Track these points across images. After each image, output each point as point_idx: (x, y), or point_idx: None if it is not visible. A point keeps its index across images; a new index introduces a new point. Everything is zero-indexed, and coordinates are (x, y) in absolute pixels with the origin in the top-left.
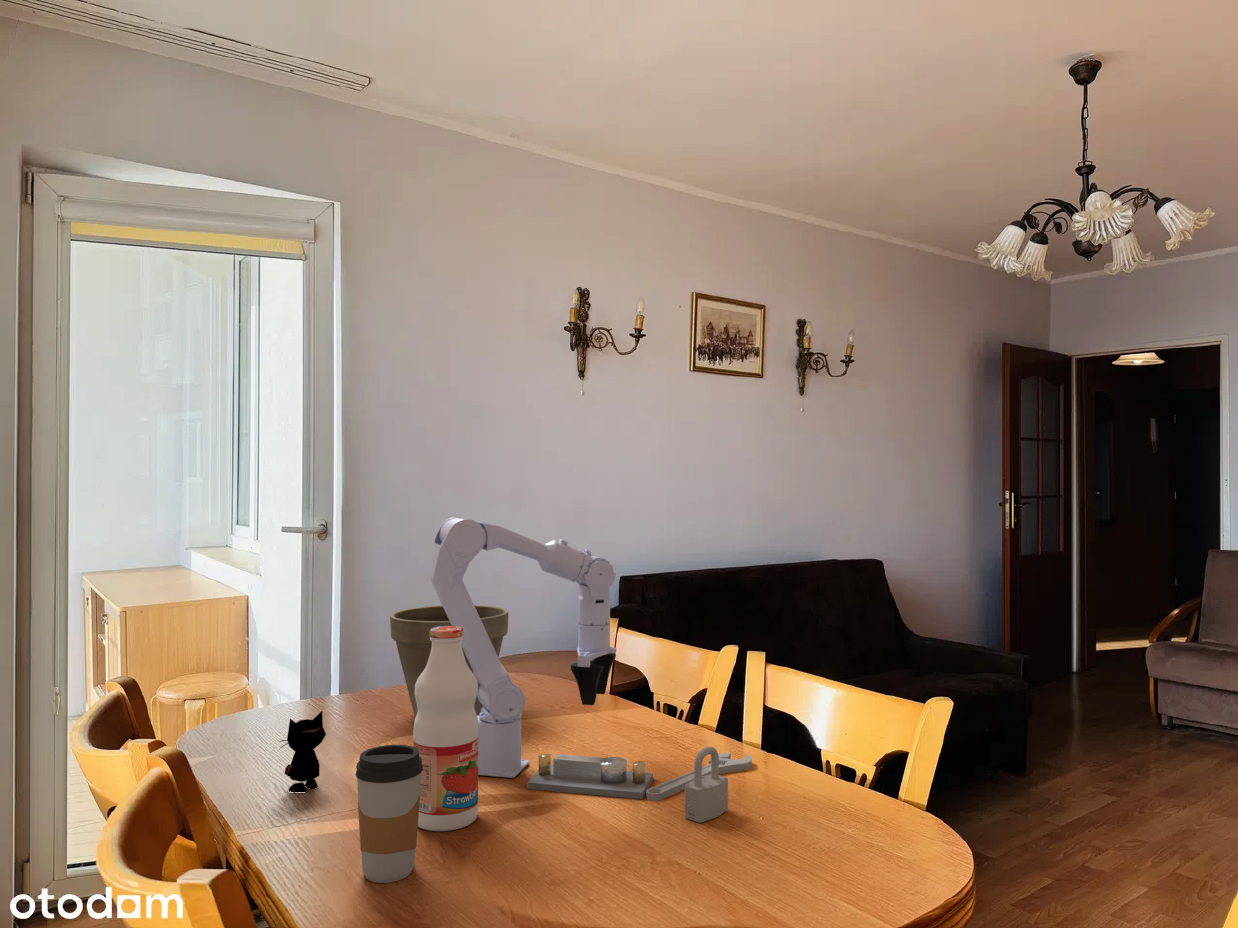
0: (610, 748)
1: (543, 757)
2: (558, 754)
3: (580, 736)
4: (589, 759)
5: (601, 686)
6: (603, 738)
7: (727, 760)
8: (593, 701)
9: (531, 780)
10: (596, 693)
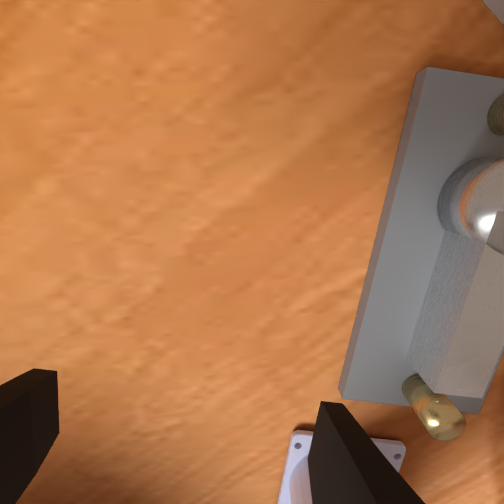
0: (131, 240)
1: (463, 425)
2: (438, 390)
3: (37, 340)
4: (500, 292)
5: (17, 430)
6: (36, 272)
7: None
8: (355, 422)
9: (465, 407)
10: (352, 453)
